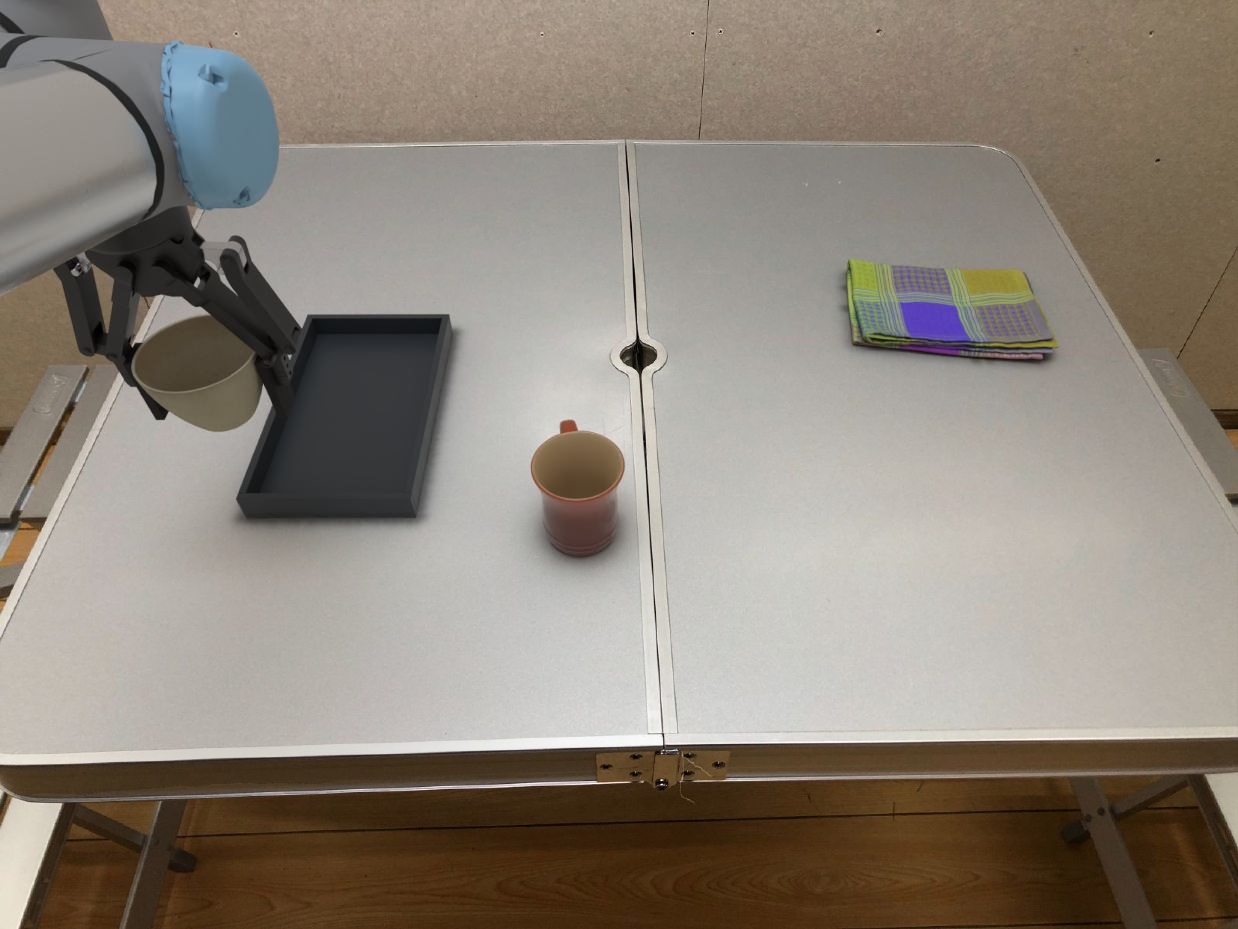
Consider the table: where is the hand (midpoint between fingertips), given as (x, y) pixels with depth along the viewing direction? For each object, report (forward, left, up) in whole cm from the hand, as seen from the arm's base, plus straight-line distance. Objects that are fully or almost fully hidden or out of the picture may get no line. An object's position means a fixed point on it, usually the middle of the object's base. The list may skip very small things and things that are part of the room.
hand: (226, 408), depth 74 cm
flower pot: (0, 0, 0) cm, 0 cm away
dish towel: (+81, -23, -16) cm, 86 cm away
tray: (+14, +9, -16) cm, 23 cm away
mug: (+24, -19, -16) cm, 35 cm away
